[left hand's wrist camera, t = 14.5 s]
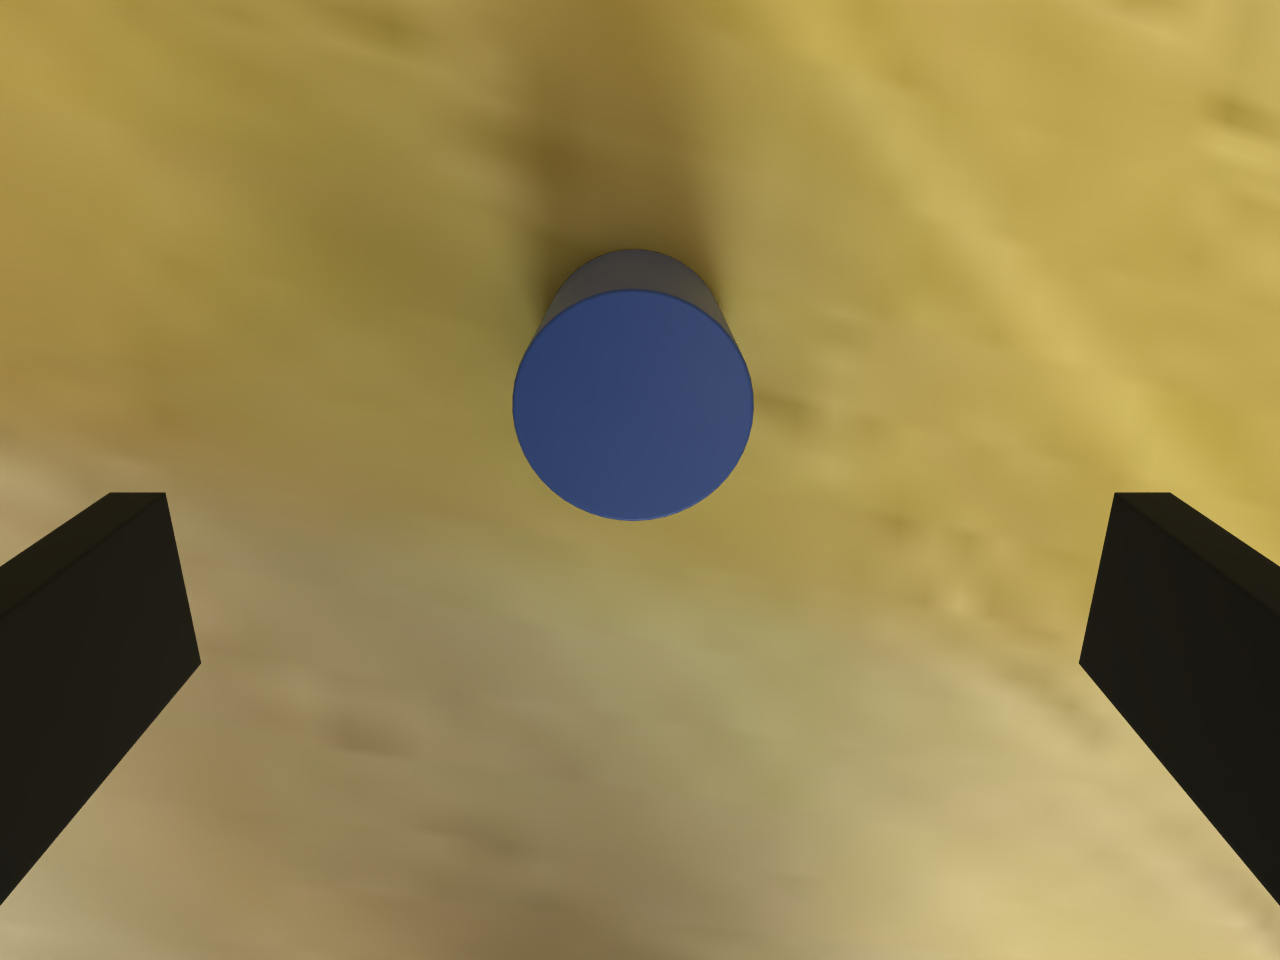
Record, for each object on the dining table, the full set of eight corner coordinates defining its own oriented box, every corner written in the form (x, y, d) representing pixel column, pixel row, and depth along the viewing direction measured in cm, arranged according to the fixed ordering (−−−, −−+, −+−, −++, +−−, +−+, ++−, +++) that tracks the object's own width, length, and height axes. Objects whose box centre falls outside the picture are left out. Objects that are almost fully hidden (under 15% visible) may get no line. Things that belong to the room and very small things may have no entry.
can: (682, 451, 29) (696, 553, 22) (519, 390, 28) (479, 474, 21) (753, 290, 27) (794, 344, 20) (581, 219, 26) (560, 249, 19)
